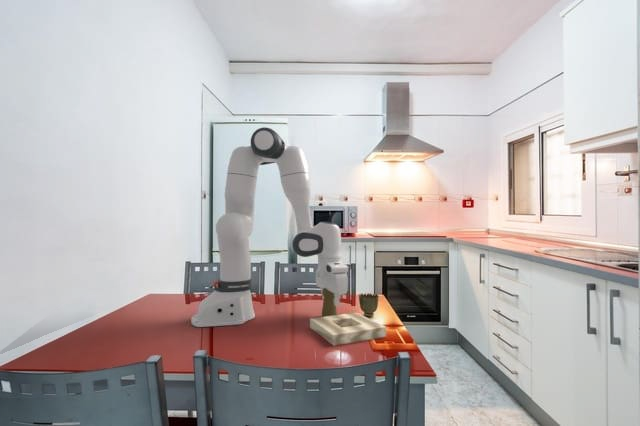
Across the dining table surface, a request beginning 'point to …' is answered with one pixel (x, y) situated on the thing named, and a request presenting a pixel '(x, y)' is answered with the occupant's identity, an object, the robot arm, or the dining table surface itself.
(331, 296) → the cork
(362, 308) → the cup
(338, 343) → the socket board
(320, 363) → the dining table surface
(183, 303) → the dining table surface
